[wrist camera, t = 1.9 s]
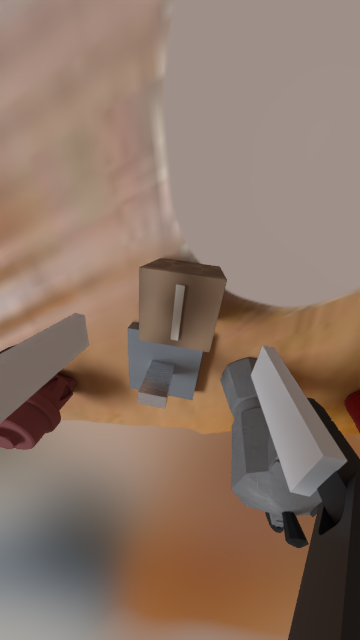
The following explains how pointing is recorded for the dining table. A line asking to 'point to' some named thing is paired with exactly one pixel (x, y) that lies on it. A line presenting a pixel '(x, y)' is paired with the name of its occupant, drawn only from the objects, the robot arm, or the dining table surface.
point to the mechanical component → (36, 414)
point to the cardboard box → (179, 303)
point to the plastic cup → (354, 407)
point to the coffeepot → (260, 458)
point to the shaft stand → (161, 370)
